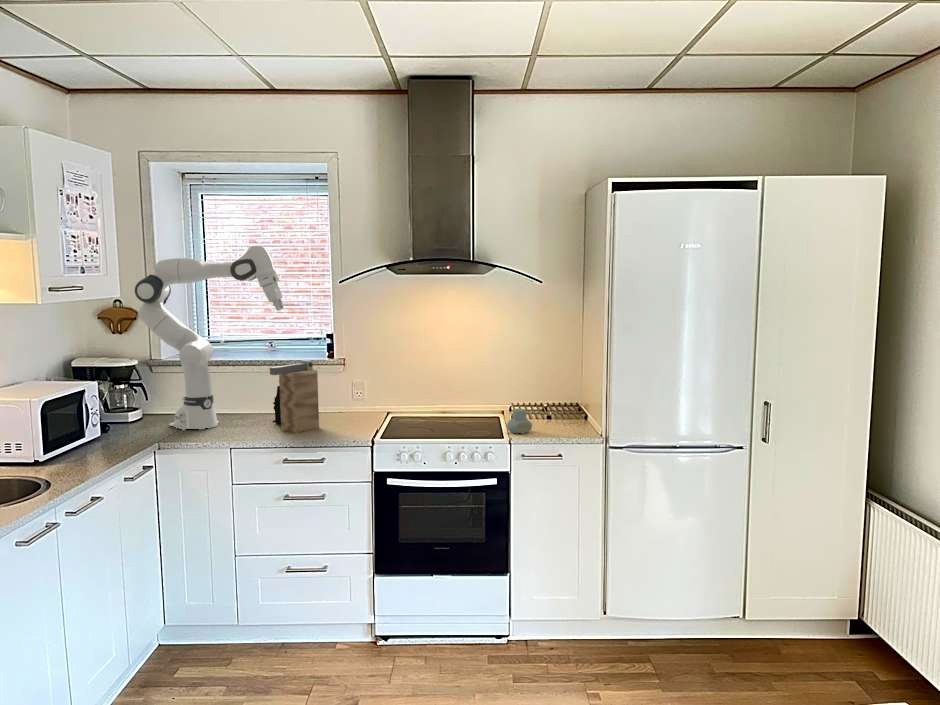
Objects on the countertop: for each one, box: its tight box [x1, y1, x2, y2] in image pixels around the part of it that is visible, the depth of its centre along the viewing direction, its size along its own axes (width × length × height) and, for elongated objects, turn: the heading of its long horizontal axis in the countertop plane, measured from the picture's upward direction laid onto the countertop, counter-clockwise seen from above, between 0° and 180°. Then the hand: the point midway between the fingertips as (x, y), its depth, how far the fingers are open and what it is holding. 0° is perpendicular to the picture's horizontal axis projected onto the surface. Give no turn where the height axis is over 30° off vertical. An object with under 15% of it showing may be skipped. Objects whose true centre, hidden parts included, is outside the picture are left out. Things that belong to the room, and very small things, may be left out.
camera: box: [272, 385, 281, 425], centre depth 319 cm, size 10×14×20 cm
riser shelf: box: [278, 368, 320, 434], centre depth 304 cm, size 10×13×26 cm
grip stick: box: [269, 359, 314, 376], centre depth 299 cm, size 5×21×4 cm, turn 147°
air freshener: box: [506, 408, 533, 434], centre depth 296 cm, size 11×8×10 cm
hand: (280, 309), depth 309 cm, fingers open, 8 cm apart
